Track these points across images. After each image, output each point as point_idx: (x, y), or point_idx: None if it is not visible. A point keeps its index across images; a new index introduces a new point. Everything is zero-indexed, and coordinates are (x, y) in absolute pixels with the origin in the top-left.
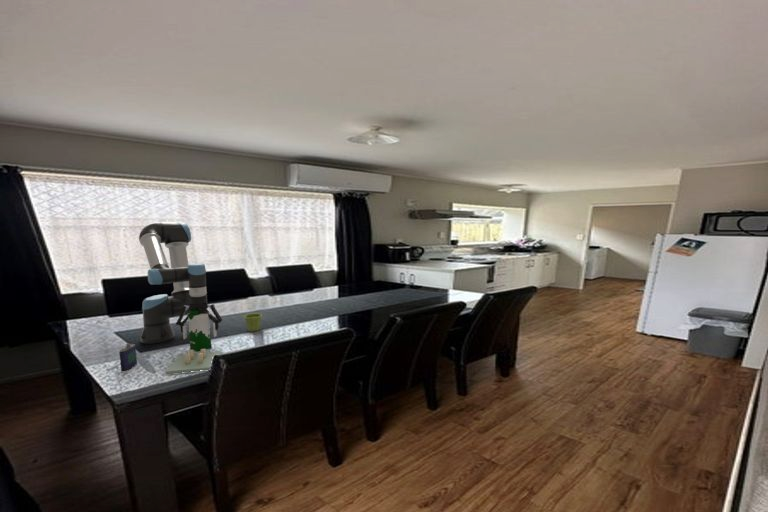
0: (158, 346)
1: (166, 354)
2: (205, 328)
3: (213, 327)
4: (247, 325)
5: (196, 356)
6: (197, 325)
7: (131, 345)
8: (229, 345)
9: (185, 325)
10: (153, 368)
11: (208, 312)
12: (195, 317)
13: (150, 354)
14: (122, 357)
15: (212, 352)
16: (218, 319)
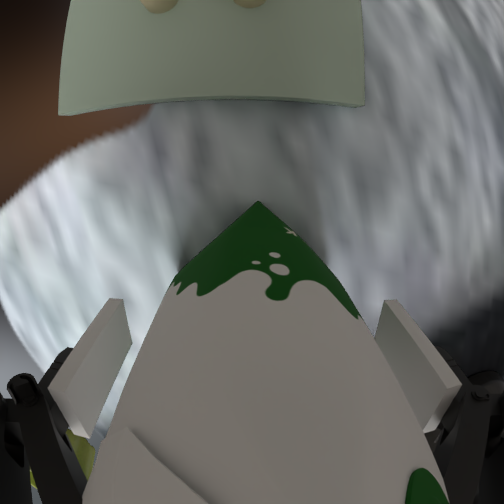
0: (469, 344)
1: (445, 214)
2: (154, 340)
3: (80, 361)
4: (82, 460)
5: (222, 31)
6: (260, 345)
7: None
8: (76, 283)
9: (430, 414)
10: (442, 9)
11: None
12: None
13: (500, 240)
14: None
15: (116, 97)
16: None
